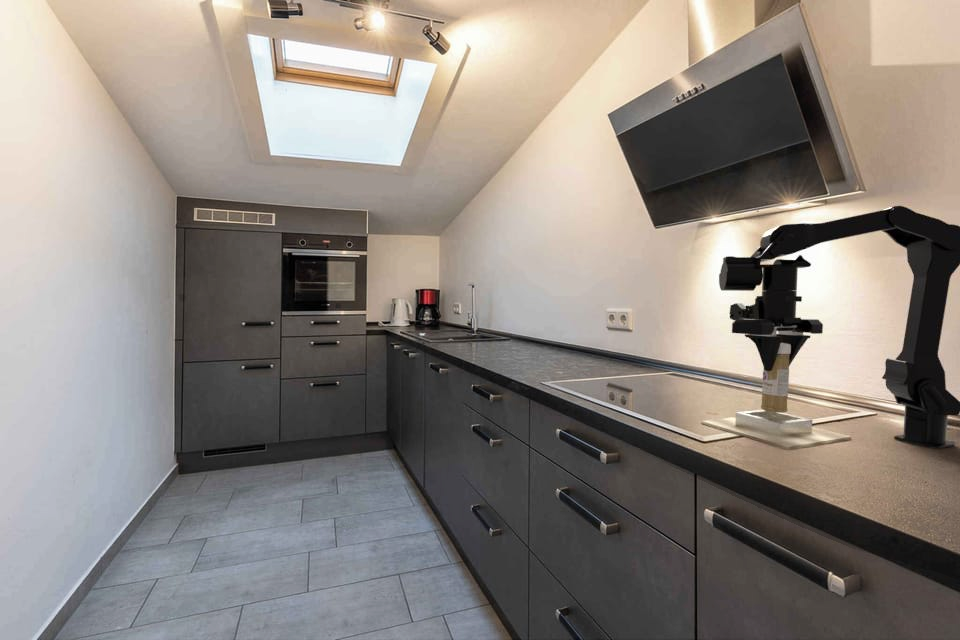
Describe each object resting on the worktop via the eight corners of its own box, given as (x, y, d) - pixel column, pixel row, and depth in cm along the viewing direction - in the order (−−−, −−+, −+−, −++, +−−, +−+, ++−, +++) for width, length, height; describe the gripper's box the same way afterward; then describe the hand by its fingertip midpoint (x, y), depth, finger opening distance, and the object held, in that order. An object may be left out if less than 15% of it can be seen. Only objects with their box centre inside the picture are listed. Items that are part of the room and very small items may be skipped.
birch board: (760, 416, 103) (760, 414, 103) (851, 439, 87) (851, 436, 87) (701, 423, 96) (701, 421, 96) (787, 449, 80) (788, 446, 80)
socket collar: (766, 420, 97) (766, 409, 97) (811, 432, 89) (812, 419, 89) (735, 424, 94) (735, 412, 94) (779, 437, 85) (780, 423, 85)
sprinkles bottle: (755, 408, 93) (758, 341, 93) (776, 407, 94) (779, 342, 93) (771, 413, 89) (774, 344, 88) (793, 413, 89) (796, 344, 89)
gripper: (771, 292, 101) (768, 363, 102) (709, 290, 94) (707, 366, 95) (826, 291, 91) (822, 370, 92) (761, 289, 84) (758, 375, 84)
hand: (775, 370), depth 91 cm, fingers closed on sprinkles bottle, 4 cm apart
